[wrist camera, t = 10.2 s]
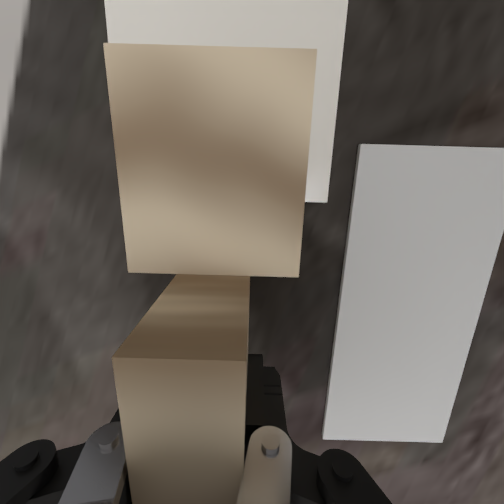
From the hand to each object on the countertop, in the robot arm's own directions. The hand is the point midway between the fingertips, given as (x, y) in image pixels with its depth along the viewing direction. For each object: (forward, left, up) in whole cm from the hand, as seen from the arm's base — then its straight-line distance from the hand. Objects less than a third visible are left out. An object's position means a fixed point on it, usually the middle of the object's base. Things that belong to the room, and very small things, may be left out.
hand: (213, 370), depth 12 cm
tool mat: (-13, +1, -8) cm, 15 cm away
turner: (0, -2, -1) cm, 3 cm away
